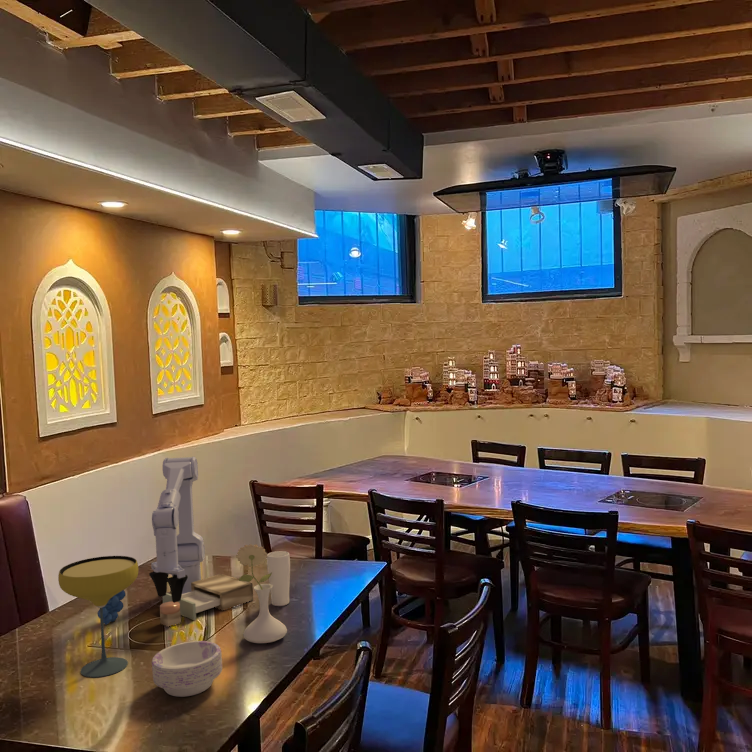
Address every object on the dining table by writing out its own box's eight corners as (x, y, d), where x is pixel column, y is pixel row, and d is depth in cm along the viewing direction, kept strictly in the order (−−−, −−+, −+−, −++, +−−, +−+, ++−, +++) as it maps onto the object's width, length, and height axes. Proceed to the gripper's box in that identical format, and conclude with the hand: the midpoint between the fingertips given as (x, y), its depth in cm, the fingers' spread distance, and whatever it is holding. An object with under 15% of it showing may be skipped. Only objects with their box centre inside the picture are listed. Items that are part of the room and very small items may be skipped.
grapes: (111, 613, 214) (109, 573, 214) (132, 614, 212) (129, 574, 212) (86, 628, 203) (84, 586, 203) (107, 629, 201) (105, 587, 201)
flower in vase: (294, 631, 194) (289, 539, 193) (276, 649, 183) (272, 551, 182) (249, 628, 197) (244, 537, 197) (230, 645, 186) (225, 549, 186)
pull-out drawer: (163, 607, 216) (162, 592, 216) (193, 598, 224) (192, 583, 224) (193, 620, 205) (192, 604, 205) (224, 609, 213) (223, 594, 213)
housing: (191, 599, 224) (191, 582, 223) (221, 589, 232) (220, 573, 231) (223, 610, 212) (222, 593, 212) (253, 600, 220) (252, 583, 220)
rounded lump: (156, 611, 204) (156, 605, 204) (173, 606, 208) (173, 600, 208) (166, 616, 200) (166, 609, 200) (183, 610, 204) (183, 604, 204)
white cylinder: (281, 598, 221) (278, 549, 221) (296, 602, 217) (294, 552, 216) (264, 604, 216) (261, 555, 215) (279, 609, 212) (277, 558, 211)
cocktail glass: (48, 684, 168) (42, 577, 168) (89, 651, 186) (83, 555, 186) (121, 685, 166) (115, 577, 165) (155, 652, 184) (150, 555, 183)
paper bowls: (141, 689, 164) (139, 655, 163) (200, 667, 174) (199, 634, 174) (175, 711, 153) (173, 674, 153) (236, 686, 163) (234, 651, 163)
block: (160, 623, 204) (160, 611, 204) (173, 619, 207) (172, 607, 207) (168, 627, 201) (167, 614, 201) (180, 622, 204) (180, 610, 204)
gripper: (140, 550, 205) (143, 597, 206) (168, 558, 195) (170, 608, 196) (163, 544, 211) (165, 590, 211) (190, 552, 201) (193, 600, 201)
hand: (169, 598), depth 204 cm, fingers open, 7 cm apart
